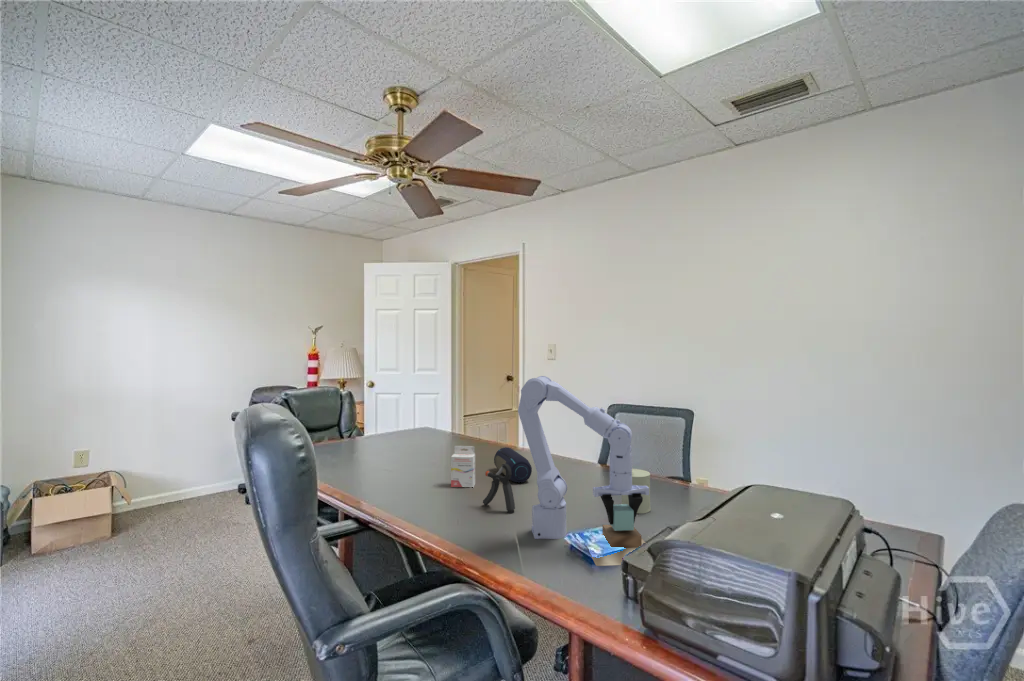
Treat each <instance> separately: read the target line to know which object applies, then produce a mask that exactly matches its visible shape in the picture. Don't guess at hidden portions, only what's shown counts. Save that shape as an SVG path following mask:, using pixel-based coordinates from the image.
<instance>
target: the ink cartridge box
mask: <svg viewBox="0 0 1024 681" xmlns="http://www.w3.org/2000/svg"><path fill="white" fill-rule="evenodd" d="M463 449H465V450H463ZM475 449H476V448H475V446H474V445H454V446H453V454H452V455H451V456H450V488H451V487H473V488H474V487H475V485H476V453H475V452H476V450H475Z"/></svg>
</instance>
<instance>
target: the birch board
mask: <svg viewBox="0 0 1024 681" xmlns="http://www.w3.org/2000/svg"><path fill="white" fill-rule="evenodd" d="M643 543H646V541H645V540H644V539H643V538H642V544H643ZM637 548H638V547H637ZM635 549H636V548H626V549H624V550H623V551H620V552H617V553H614V554H611V555H607V556H604V557H600V558H596V557H595V558H594V557H591V558H592V560H593V563H594V564H595V566H596V567H604V566H605V567H606V566H607V567H608V566H622V565H621V562H622V558H623V557H624V556H625V555H626V554H628V553H629V552H632V551H633V550H635Z"/></svg>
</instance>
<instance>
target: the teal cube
mask: <svg viewBox="0 0 1024 681" xmlns="http://www.w3.org/2000/svg"><path fill="white" fill-rule="evenodd" d="M609 525H611V526H612V527H613V529H614V530H615V531H622V530H634V527H635V522H634V510H633V509H632V508H631V507H630V506H629V505H628V504H622V503H621V504H614V505H613V524H610V523H609Z"/></svg>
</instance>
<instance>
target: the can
mask: <svg viewBox="0 0 1024 681" xmlns="http://www.w3.org/2000/svg"><path fill="white" fill-rule="evenodd" d="M632 485H638V486H647V487H649V495H645V494H642V495H641V496H642V497H643V501H642V503H641V505H640V506H639V509H638V511H637V514H638V515H639V514H640V515H641V514H648V513H649V512H651V510H652V508H651V473H650V472H649V471H647V470H644V469H636V468H632ZM621 504H628V505H629V499H628V495H621ZM637 514H636V515H637Z"/></svg>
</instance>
